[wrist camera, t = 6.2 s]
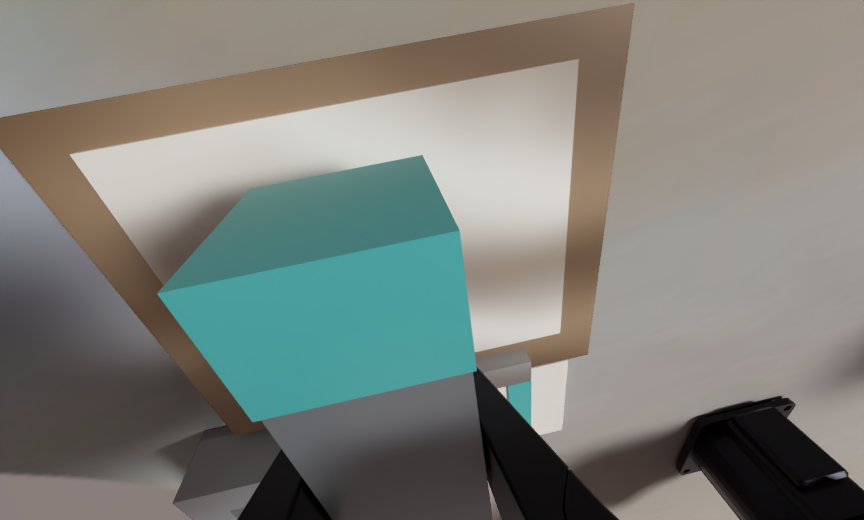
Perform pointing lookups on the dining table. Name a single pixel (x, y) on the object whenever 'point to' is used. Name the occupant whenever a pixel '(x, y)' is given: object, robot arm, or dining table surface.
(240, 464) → the button housing
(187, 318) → the block
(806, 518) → the robot arm
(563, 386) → the card
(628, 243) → the dining table surface
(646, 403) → the dining table surface
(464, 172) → the clipboard
